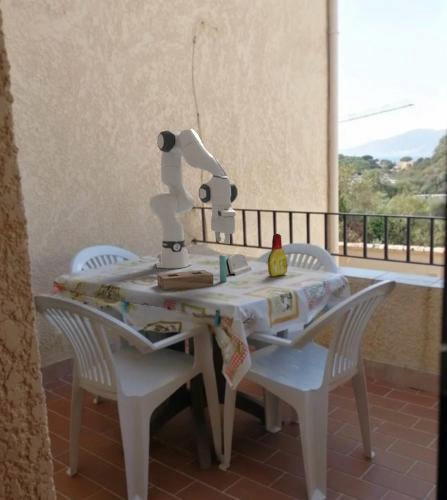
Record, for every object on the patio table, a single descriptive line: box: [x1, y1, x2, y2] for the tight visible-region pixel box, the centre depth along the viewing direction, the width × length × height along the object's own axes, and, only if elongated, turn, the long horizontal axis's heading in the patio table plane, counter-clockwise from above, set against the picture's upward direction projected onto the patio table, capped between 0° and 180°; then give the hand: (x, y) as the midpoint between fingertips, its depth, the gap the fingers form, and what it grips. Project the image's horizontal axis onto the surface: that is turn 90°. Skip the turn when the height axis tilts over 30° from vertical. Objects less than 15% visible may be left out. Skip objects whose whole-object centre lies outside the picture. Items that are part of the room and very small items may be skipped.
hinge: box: [226, 253, 253, 277], centre depth 255 cm, size 17×5×10 cm, turn 149°
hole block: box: [156, 269, 214, 292], centre depth 227 cm, size 12×22×5 cm, turn 112°
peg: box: [218, 254, 228, 283], centre depth 233 cm, size 3×3×12 cm
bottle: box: [267, 233, 288, 277], centre depth 243 cm, size 12×6×20 cm, turn 131°
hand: (222, 242), depth 231 cm, fingers open, 8 cm apart
